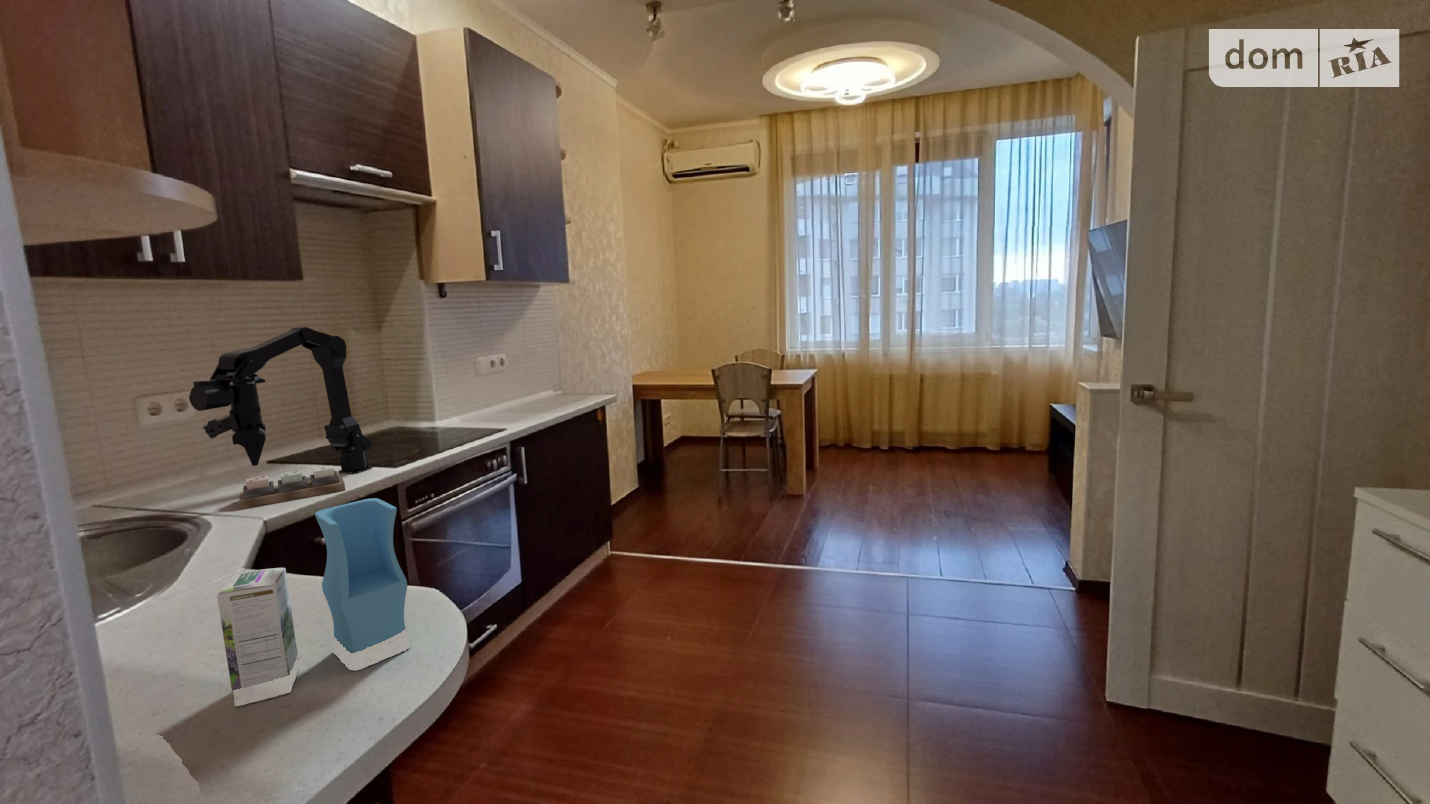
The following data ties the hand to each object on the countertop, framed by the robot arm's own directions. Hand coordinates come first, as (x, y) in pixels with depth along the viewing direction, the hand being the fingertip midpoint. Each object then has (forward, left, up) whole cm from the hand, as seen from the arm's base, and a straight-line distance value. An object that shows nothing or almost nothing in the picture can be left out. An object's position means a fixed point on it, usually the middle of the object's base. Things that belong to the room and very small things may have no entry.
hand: (255, 465), depth 153 cm
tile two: (-5, +4, -5) cm, 9 cm away
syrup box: (+60, +78, -10) cm, 99 cm away
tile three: (0, 0, -6) cm, 6 cm away
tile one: (-11, +9, -5) cm, 15 cm away
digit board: (-5, +4, -9) cm, 12 cm away
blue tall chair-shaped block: (+50, +84, -10) cm, 98 cm away
